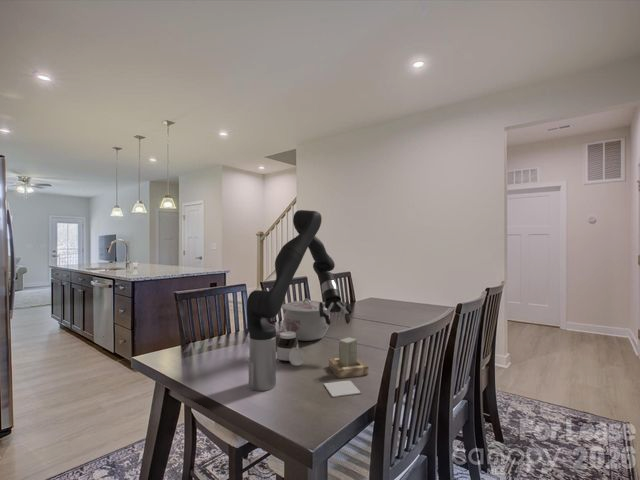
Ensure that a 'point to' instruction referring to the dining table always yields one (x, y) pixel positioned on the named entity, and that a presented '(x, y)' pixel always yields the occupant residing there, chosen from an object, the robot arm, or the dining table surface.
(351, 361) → the skincare box
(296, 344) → the spread jar
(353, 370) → the holder collar
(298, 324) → the chamber pot
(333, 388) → the mat
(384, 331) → the dining table surface
